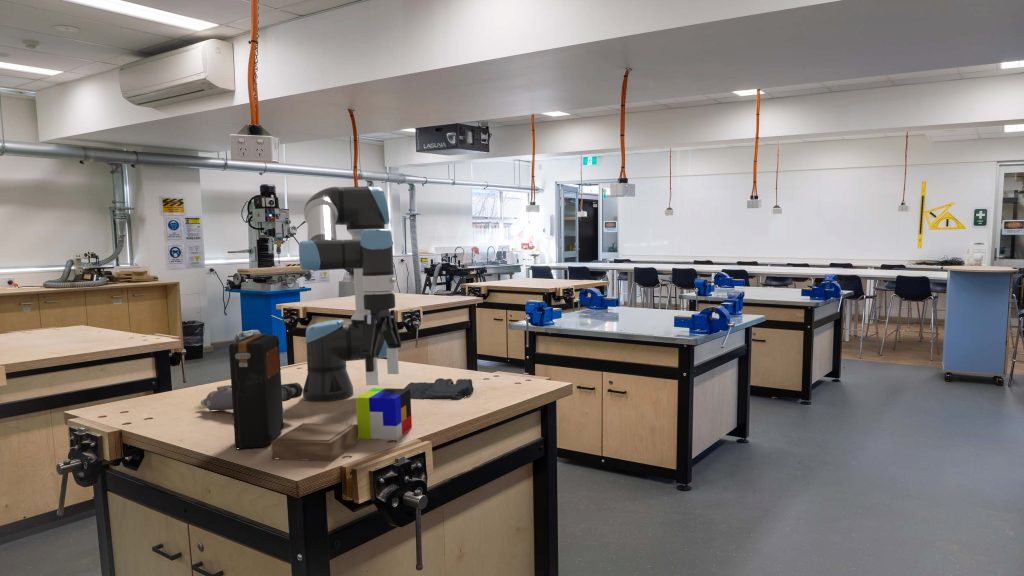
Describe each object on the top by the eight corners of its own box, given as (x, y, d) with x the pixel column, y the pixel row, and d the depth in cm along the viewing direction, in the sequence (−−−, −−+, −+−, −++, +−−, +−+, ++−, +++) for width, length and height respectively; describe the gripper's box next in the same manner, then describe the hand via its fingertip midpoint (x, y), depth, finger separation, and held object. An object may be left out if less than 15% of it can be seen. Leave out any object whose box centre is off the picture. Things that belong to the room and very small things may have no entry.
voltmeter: (252, 431, 162) (246, 334, 160) (287, 429, 162) (281, 332, 161) (230, 451, 146) (223, 343, 144) (269, 449, 147) (262, 341, 145)
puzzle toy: (397, 439, 151) (395, 398, 150) (357, 438, 153) (355, 397, 152) (411, 427, 161) (410, 388, 160) (375, 426, 163) (373, 388, 162)
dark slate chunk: (412, 389, 206) (411, 374, 206) (477, 390, 202) (477, 375, 202) (394, 400, 191) (393, 385, 191) (464, 402, 187) (464, 386, 187)
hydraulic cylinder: (290, 415, 167) (283, 378, 167) (196, 425, 183) (190, 391, 183) (310, 408, 174) (303, 373, 174) (218, 418, 190) (212, 385, 190)
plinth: (304, 439, 153) (303, 422, 153) (358, 440, 151) (357, 423, 150) (272, 459, 139) (271, 440, 139) (331, 460, 137) (330, 441, 137)
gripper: (373, 296, 141) (378, 390, 143) (410, 289, 166) (414, 369, 167) (342, 297, 143) (346, 390, 144) (383, 289, 167) (387, 369, 169)
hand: (383, 379), depth 156 cm, fingers open, 13 cm apart
